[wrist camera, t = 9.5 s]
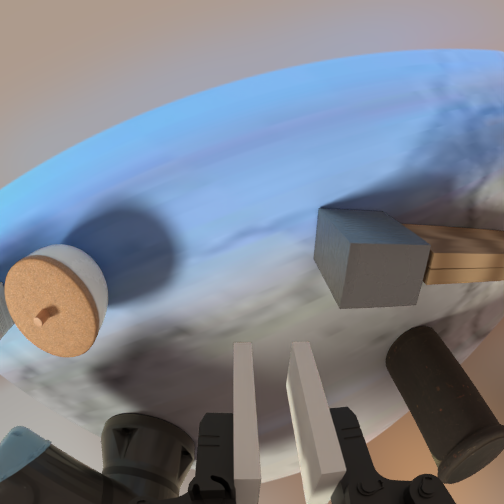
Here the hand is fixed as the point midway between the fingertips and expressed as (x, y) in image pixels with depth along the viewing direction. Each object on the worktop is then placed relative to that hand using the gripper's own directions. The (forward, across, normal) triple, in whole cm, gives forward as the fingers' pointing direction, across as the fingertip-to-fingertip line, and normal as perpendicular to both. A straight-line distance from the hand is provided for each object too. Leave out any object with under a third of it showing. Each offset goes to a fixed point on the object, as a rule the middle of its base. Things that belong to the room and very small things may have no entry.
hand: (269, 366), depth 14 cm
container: (+19, +22, -16) cm, 33 cm away
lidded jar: (+19, -19, -5) cm, 27 cm away
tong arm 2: (+18, +24, +1) cm, 30 cm away
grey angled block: (+18, +10, 0) cm, 21 cm away
